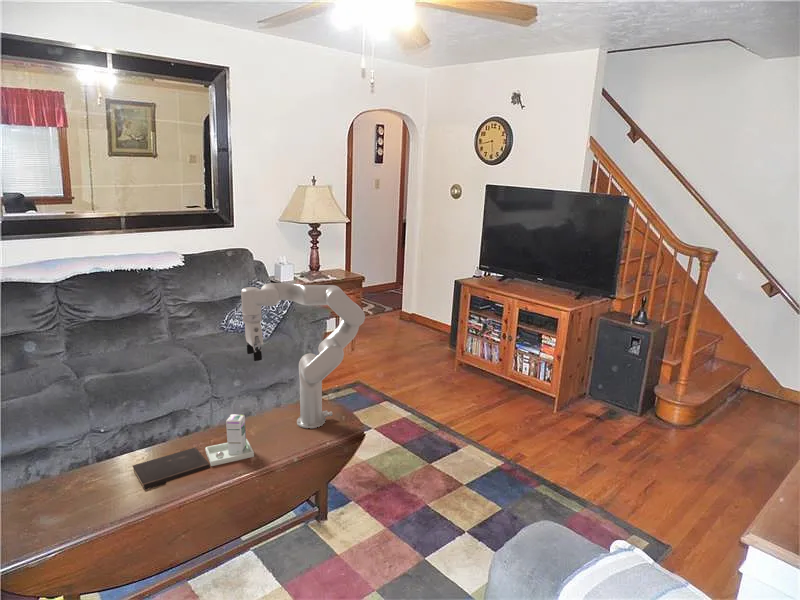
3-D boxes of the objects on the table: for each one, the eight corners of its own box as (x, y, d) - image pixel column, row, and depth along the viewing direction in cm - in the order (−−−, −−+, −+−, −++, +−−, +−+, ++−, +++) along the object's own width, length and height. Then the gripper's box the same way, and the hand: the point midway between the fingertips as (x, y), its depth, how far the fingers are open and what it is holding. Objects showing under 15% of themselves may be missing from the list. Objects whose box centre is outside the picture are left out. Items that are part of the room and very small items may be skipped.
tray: (246, 444, 219) (246, 438, 219) (254, 457, 209) (253, 452, 208) (205, 452, 212) (205, 447, 211) (211, 467, 201) (210, 461, 201)
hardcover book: (132, 471, 199) (132, 465, 198) (195, 452, 213) (195, 447, 212) (144, 491, 187) (143, 485, 186) (210, 470, 201) (210, 464, 200)
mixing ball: (223, 456, 209) (222, 449, 208) (224, 459, 206) (224, 452, 205) (215, 457, 207) (214, 450, 206) (216, 461, 205) (216, 454, 204)
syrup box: (242, 454, 210) (241, 420, 206) (227, 454, 210) (225, 420, 206) (246, 447, 215) (245, 414, 212) (232, 447, 215) (230, 413, 212)
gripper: (267, 321, 215) (269, 361, 219) (255, 311, 230) (257, 349, 234) (248, 324, 211) (251, 365, 216) (237, 313, 226) (239, 352, 230)
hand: (254, 356), depth 225 cm, fingers open, 9 cm apart
